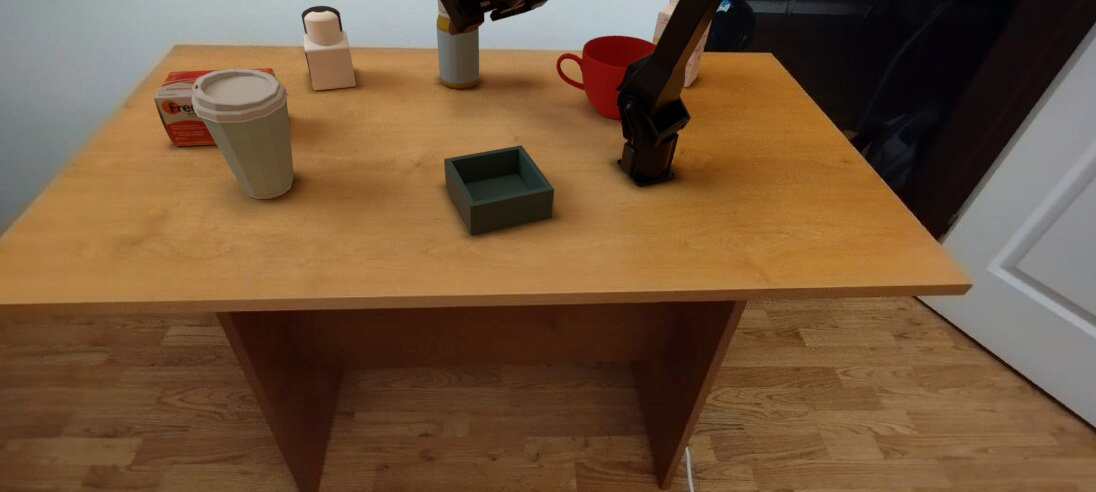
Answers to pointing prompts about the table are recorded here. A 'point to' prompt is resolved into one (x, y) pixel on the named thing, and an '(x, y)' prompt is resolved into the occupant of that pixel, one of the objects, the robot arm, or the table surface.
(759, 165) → the table surface
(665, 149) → the robot arm
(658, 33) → the ink cartridge box
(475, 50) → the bottle
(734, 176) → the table surface
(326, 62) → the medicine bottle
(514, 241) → the table surface
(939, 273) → the table surface
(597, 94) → the ceramic cup
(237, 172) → the disposable coffee cup
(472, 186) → the box
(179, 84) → the medicine box
